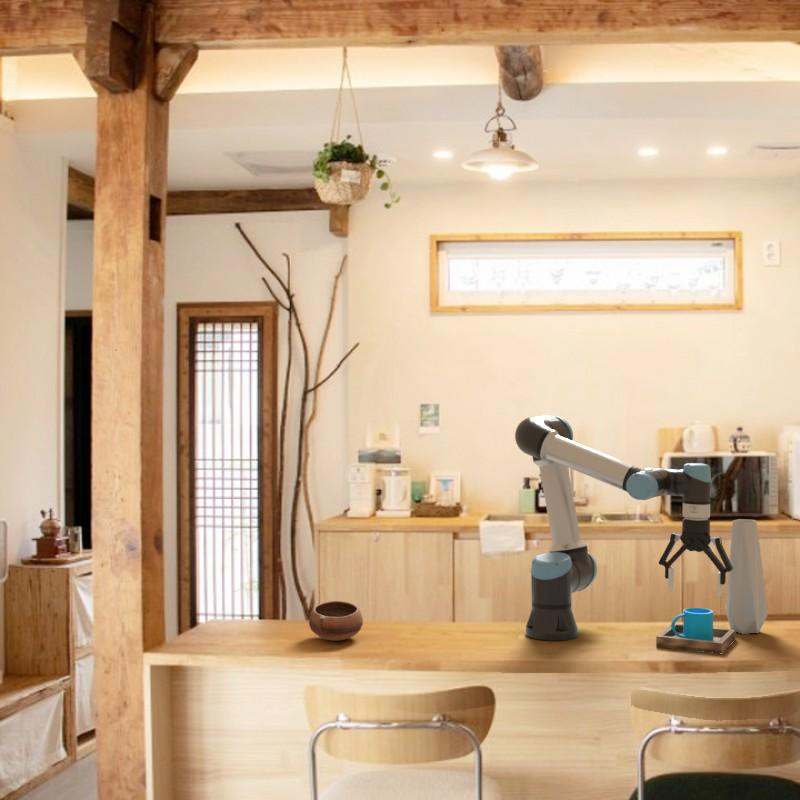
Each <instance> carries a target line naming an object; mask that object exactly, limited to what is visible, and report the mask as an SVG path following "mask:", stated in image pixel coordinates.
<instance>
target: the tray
mask: <svg viewBox="0 0 800 800" xmlns="http://www.w3.org/2000/svg"><path fill="white" fill-rule="evenodd" d="M675 630H676V632H677V633H679V634H680V635H683V623H675ZM736 635H737V633H736V630H734V629H731V628H723V627H715V626H713V641H707V640H698V639H688V638H681V637H678V636H676V635H675V634H674V633H673V631H672V629H671V624H669V626H667V627H666V628H665V629H663V630H662V631H661V632H659V633H658V634H657V635H656V636H655V639H656V640H655V641H656V643H655V644H656V645H655V646H658V647H657V648H661V647H667V648H666V649H670V648H673V649H672V650H678V649H680V650H679V651H687V650H692V651H691V652H696V651H702V652H701V653H705V652H713V653H723V652H724V651H725V650H726V649H727V648H728V647H729V645H730V644H731V643H732V642H733V641H734V640H735V639H736V640H737V638H736V637H737V636H736ZM736 640H735V641H736ZM735 641H734V642H735ZM734 642H733V643H734ZM733 643H732V644H733ZM729 648H730V647H729ZM729 648H728V649H729ZM728 649H727V650H728ZM727 650H726V651H727ZM703 651H704V652H703ZM726 651H725V652H726ZM725 652H724V653H725ZM713 653H712V654H713ZM724 653H723V654H724Z"/></svg>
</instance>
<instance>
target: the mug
mask: <svg viewBox="0 0 800 800" xmlns="http://www.w3.org/2000/svg"><path fill="white" fill-rule="evenodd" d="M681 618H682V621H683V622H682V624H683V635H680V634H679V633H677V632H676V630H675V624H677V621H678V620H679V619H681ZM670 625H671V629H672V631H673V633H674V634H675V635H676V636H678V637H681V638H688V639H698V640H707V641H713V627H714V610H712V609H709V608H704V607H687V608H684V609H683V610H682V613H680V614H678V615H676V616H675V617H674V618H673V619H672V621H671V624H670Z"/></svg>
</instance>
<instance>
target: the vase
mask: <svg viewBox="0 0 800 800" xmlns="http://www.w3.org/2000/svg"><path fill="white" fill-rule="evenodd" d="M728 559H729V561H730V563H731V565H732V567H733V569H732V570H731V571H730V572H727V580H726V581H727V583H726V595H725V596H726V597H725V605H724V606H725V608H724V609H725V614H726V618H727V621H728V624H729V629H734V630H736V632H738V633H737V634H740V633H743V634H742V635H750V634H749V633H758V634H759V633H760V631H761V629H762V627H763V626H764V623H766V622H765V621H766V620H767V617H768V615H769V612H768V611H769V610H768V602H767V593H766V586H765V576H764V569H763V562H762V551H761V544H760V537H759V529H758V523H757V521H756V520H755V519H745V518H744V519H743V518H742V519H741V518H739V519H734V520H732V523H731V537H730V548H729V557H728Z"/></svg>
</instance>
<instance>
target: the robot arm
mask: <svg viewBox="0 0 800 800" xmlns="http://www.w3.org/2000/svg"><path fill="white" fill-rule="evenodd" d="M514 438H515V443H516V445H517V447H518V449H519V450H520V451H522V453H524V454H526V455H528V456H531V457H532V462H533V463H534V464H535V465H537V467H538V468H539V474H540V478H541V484H542V489H543V497H544V501H545V506H546V507H545V508H546V513H547V518H548V524H549V530H550V535H551V540H552V545H551V546H550V548H549V549H548V552H546V553H545V552H544V553H540V554H538V555H536V556H534V557H533V559H532V560H531V568H530V573H531V574H530V575H531V578H530V579H531V581H530V582H531V583H530V584H531V587H530V588H531V589H530V591H531V610H530V613H529V615H528V619H527V622H526V625H525V635H526V636H527V637H529V638H530V639H531V638H532V639H534V640H535V639H536V640H540V641H542V640H543V641H558V642H559V641H567V640H573V639H576V638H577V637H578V634H579V630H578V624H577V622H576V619H575V616H574V613H573V610H572V609H573V607H572V594H573V593H576V592H581V591H583V590H585V589H587V588H588V587H589V586H590V585H592V583H594V581H595V579H596V578H597V573H598V567H597V566H598V565H597V562H596V560H595V558H594V556H593V555H591V554H590V553H589V551H588V545H587V543H585V542H584V541H583V540H582V539H581V534H580V528H579V523H578V517H577V512H576V506H575V501H574V494H573V490H572V483H571V478H570V472H569V469H572V470H574V471H577V472H579V473H581V474H583V475H585V476H589V477H591V478H593V479H596V480H598V481H600V482H603V483H605V484H607V485H609V486H612V487H614V488H617V489H619V490H622V491H624V492H626V493H628V495H629V496H630V497H631V498H632V499H635V500H638V501H647V500H650V499H653V498H657V497H661V496H676V497H682V517H684V518H683V519H682V523H681V524H682V528H681V534H678V533H676V532H673V533H671V534H670V539H669V542H668V544H667V546H666V548H664V549H665V550H664V551H663V553H662V555H661V557H660V559H659V561H658V565H660V566H663V567H664V578H665V579H668V583H667V584H668V585H667V591H668V592H672V591H674V568H675V567H674V566H672V565H673V564H674V563H675V562H676V561H677V560H678V559H679V557H681V556H682V554H684V552H685V551H686V550H688V552H697V553H701V552H703V553H704V554H705V555H706V556H707V557H708V559H710V561H711V562H712V564H714V566H715V568H716V569H717V570H718V571H717V573H716V574H717V575H716V597H717V598H718V597H719V598H720V597H722V595H723V593H722V591H723V589H722V587H723V585H725V584H726V581H727V579H726V578H727V573H728V572H730V571H731V570H732V569H733V567H732V565H731V563H730V561H729V557H728V555H727V553H726V550H725V548H724V546H723V542H722V536H717V537H712V536H711V535H710V534H711V520H710V517H711V493H712V492H711V490H712V489H711V488H712V486H711V485H712V478H711V477H712V475H711V474H712V473H711V471H712V470H711V466H710V465H709V464H706V463H699V462H698V463H695V462H693V463H692V462H690V463H689V462H687V463H685V464H683V468H682V469H671V468H662V467H661V468H660V467H646V468H644V469H643V468H641V467H638V466H635V465H633V464H630V463H628V462H625V461H623V460H620V459H618V458H615V457H613V456H610V455H608V454H606V453H603V452H601V451H598V450H595V449H593V448H591V447H588V446H586V445H583V444H581V443H578V442H577V441H576V442H575V441H574V432H573V429H572V426H571V424H569V422H568V421H567V420H565V418H562V417H561V416H557V415H552V414H549V415H547V414H546V415H540V416H529V417H527V418H524V419H523V420H522V421H521V422H520V423H518V425H517V426H516V430H515V433H514ZM679 540H681V542H682V545H681V547H680V548H679V549H678V550H677V551H676V552H675V553H674V554H673V555H672V556H671V557H670V559H669V560H668V561H667V559H668V557H669V555H670V554H671V552H672V550H673V549H674V546H675V544H676V543H677V542H679ZM711 543H713V544H712V545H714V546H715V547H716V550H717V552H718V554H719V557H718V556H717V555H716V554H715V553H714V551H712V548H711V547H710V546H709V545H710V544H711ZM719 558H720V559H721V561H720V559H719Z"/></svg>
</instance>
